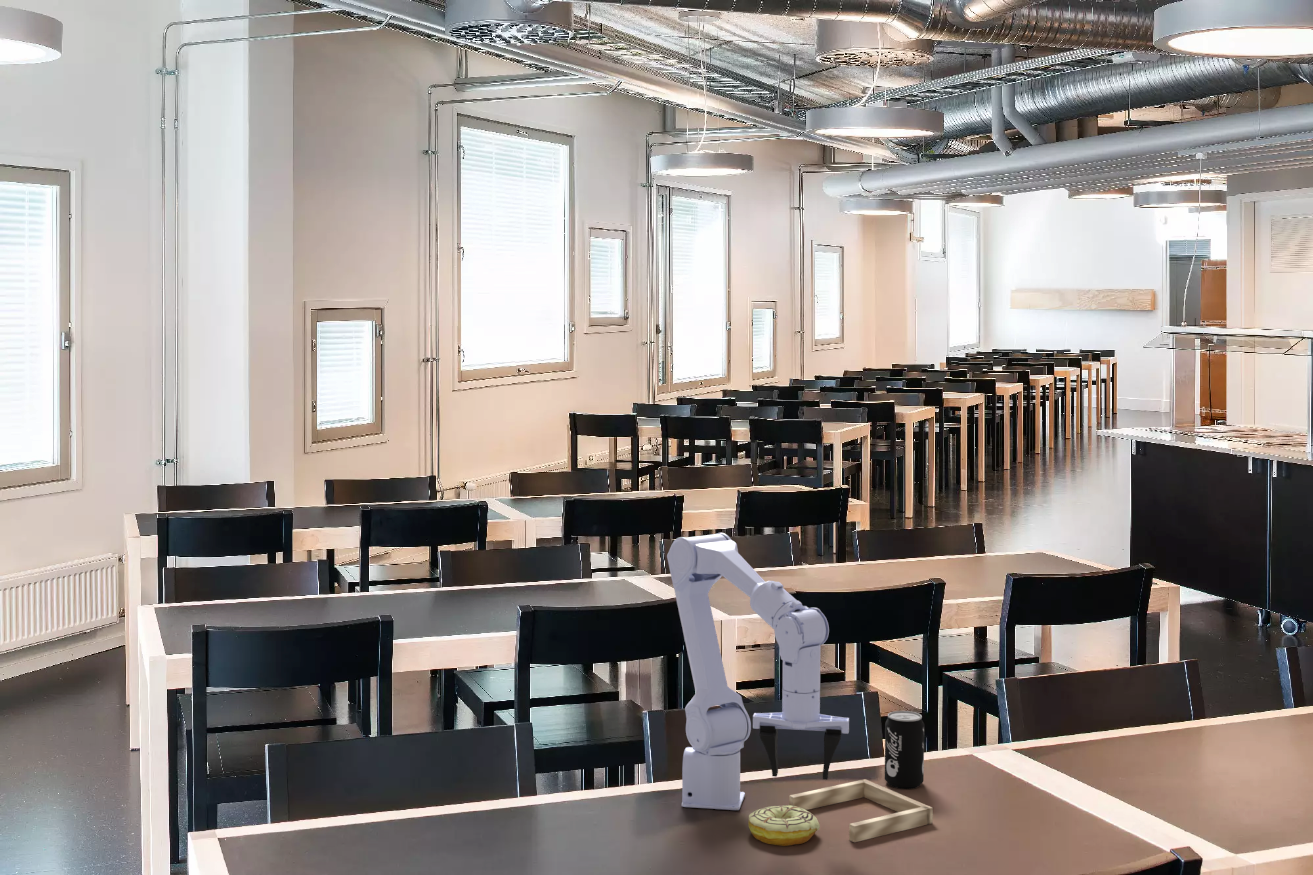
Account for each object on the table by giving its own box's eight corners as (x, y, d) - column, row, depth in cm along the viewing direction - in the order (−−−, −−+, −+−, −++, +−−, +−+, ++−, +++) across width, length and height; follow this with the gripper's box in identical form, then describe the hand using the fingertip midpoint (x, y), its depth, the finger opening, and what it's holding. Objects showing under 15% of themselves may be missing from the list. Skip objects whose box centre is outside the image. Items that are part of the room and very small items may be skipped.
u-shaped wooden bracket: (854, 842, 207) (854, 826, 207) (789, 810, 221) (789, 795, 221) (932, 823, 215) (932, 807, 215) (864, 793, 229) (865, 779, 229)
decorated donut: (831, 835, 211) (832, 811, 211) (789, 854, 203) (789, 829, 203) (777, 819, 218) (778, 796, 218) (735, 837, 210) (735, 813, 210)
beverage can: (923, 791, 231) (924, 721, 230) (883, 788, 232) (884, 719, 231) (923, 779, 237) (924, 711, 236) (885, 776, 238) (886, 709, 237)
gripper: (750, 693, 206) (750, 781, 207) (848, 697, 203) (846, 787, 204) (755, 681, 213) (755, 766, 214) (849, 685, 210) (848, 772, 211)
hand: (800, 775), depth 209 cm, fingers open, 7 cm apart
